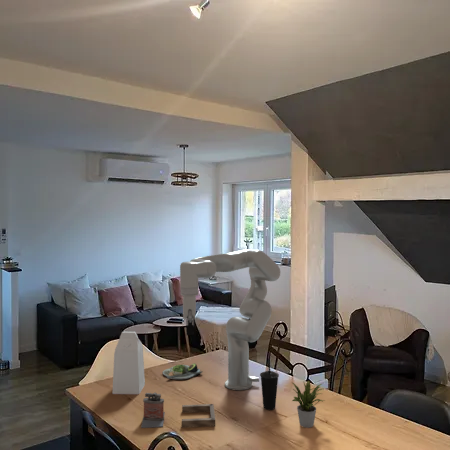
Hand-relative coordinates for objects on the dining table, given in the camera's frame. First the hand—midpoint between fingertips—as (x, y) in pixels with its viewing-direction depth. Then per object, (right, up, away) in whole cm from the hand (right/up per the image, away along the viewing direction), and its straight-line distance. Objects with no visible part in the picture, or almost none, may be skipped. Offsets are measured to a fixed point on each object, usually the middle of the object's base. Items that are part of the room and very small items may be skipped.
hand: (190, 331), depth 189 cm
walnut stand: (+4, -30, -15) cm, 34 cm away
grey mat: (-13, -30, -17) cm, 37 cm away
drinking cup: (+33, -30, -6) cm, 45 cm away
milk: (-29, -30, +15) cm, 44 cm away
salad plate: (-6, -30, +34) cm, 46 cm away
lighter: (-13, -30, -17) cm, 36 cm away
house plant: (+46, -30, -22) cm, 59 cm away
